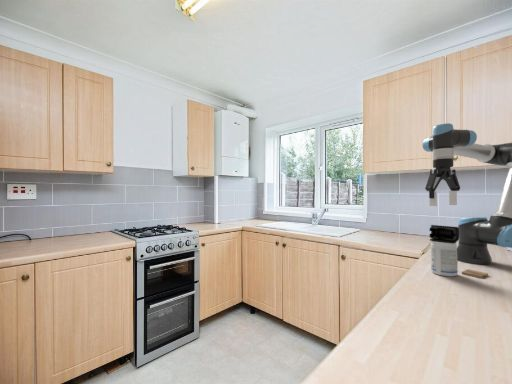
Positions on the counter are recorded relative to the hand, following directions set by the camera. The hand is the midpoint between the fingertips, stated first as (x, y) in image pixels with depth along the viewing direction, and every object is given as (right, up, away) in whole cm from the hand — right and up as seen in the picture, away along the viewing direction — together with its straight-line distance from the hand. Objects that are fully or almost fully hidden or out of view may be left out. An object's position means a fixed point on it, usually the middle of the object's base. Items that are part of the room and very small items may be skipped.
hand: (443, 205), depth 116 cm
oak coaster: (+12, -31, -3) cm, 33 cm away
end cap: (-1, -16, -1) cm, 16 cm away
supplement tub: (-1, -31, -1) cm, 31 cm away
